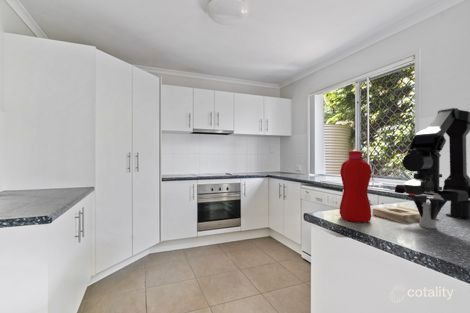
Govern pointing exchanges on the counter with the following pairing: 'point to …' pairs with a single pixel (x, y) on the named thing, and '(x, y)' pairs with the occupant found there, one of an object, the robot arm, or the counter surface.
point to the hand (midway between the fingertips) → (427, 218)
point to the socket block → (398, 213)
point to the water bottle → (355, 189)
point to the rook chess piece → (427, 217)
